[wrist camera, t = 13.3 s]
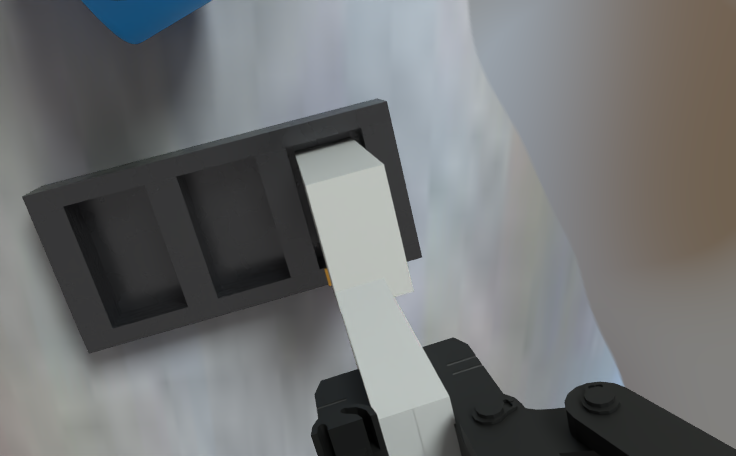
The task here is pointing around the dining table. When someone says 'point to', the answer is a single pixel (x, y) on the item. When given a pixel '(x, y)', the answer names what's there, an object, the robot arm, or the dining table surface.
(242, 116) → the dining table surface
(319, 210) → the pale grey rectangular block
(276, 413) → the dining table surface
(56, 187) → the rack
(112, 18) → the alarm clock
